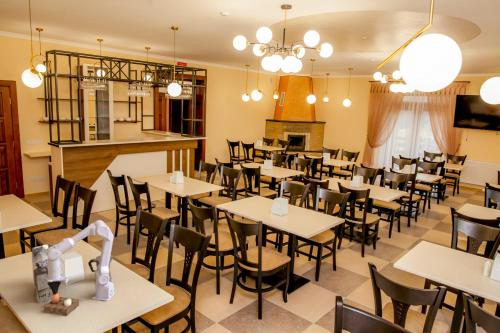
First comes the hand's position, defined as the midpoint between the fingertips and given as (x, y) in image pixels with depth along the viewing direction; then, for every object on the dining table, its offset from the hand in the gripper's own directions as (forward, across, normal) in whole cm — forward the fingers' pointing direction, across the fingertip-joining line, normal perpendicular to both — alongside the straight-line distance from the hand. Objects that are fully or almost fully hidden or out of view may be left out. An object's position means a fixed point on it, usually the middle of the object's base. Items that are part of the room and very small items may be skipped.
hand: (55, 293), depth 184 cm
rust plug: (+5, 0, 0) cm, 5 cm away
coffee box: (+9, -14, +7) cm, 18 cm away
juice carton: (+9, -19, +16) cm, 27 cm away
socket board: (+8, +4, 0) cm, 9 cm away
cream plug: (+8, +7, 0) cm, 11 cm away
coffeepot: (+9, +7, +32) cm, 34 cm away
